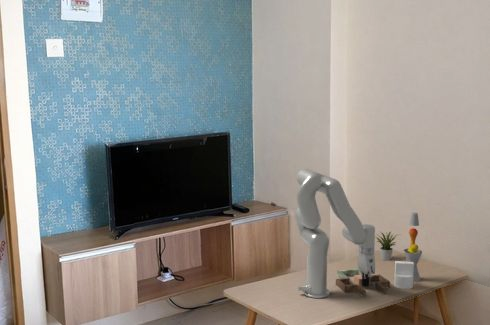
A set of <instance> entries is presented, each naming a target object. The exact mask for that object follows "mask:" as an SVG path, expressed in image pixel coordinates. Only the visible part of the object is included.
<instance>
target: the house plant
mask: <svg viewBox="0 0 490 325" xmlns="http://www.w3.org/2000/svg"><path fill="white" fill-rule="evenodd" d="M379 232H380V235H382V236H380V235H379V234H377V233H376V235H377V236H376V235H375V238H376V239H377V241H376V242H378V243H379V244H380V248H379V251H380V252H379V253H380V258H381V260H382V261H391V260H392V259H391V258H392V255H393V251H394V250H393V246H396V244H397V242H396V241H395V242H393V241H394V240H395V239H396V237H398V236H401V235H402V234H396V235H395V233H393V234H391V233H392V231H389V232H388V233H387V231H386V233H385V234H386V235H385V234H384V232H382V231H379Z"/></svg>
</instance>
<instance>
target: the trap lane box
mask: <svg viewBox="0 0 490 325" xmlns="http://www.w3.org/2000/svg"><path fill="white" fill-rule="evenodd" d="M354 275H362V274H361V271H360V270H359V268H354V269H353V268H351V269H343V270H337V278H336V279H335V286H337V287H338V288H339V289H341V291H343V292H344V293H351V292H356V293H358V294H359V295H360V296H362V297H363V298H365V297H367V290H366V289H364V288H363V287H361V286H359V285H358V284H355V283H353V284H351V278H350V277H354ZM370 286H372V287H374V288H375V289H376V290H378V291H379V292H381V293H382V294H383V295H388V288H390V287H391V281H390V280H389V279H387V278H386V277H384V276H383V275H381V274H380V273H379V274H372V277H370Z"/></svg>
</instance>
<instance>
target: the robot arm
mask: <svg viewBox="0 0 490 325" xmlns="http://www.w3.org/2000/svg"><path fill="white" fill-rule="evenodd" d="M296 181H297V183H298V184H299V185H300V186H299V188H298V190H297V195H296V201H297V206H298V207H297V208H296V210H295V213H294V219H295V223H296V226H297V228H298V229H297V230H298V233H299V236H300V238H301V240H302V242H304V244H306V245H307V246H308V251H307V255H306V282H305V283H304V285H303V286H297V287H296V290H297V291H301V292H302V293H303V294H304V296H306V297H309V298H313V299H323V298H326V297H329V296H330V294H331V291H330V290H329V289H328V286H327V284H328V283H327V280H328V251H329V246H330V239H329V236H328V234H327V233H326V232H325V231H323V230H322V229H320V228H319V227H320V225H321V222H322V218H321V214H320V211H319V207H318V205H317V200H316V195H317V192H319V193H322V194H324V195H325V197H326V198H327V201H328V203H329V205H330V207H331V210H332V213H333V214H334V215H335V216H336V217H337V218H338V219H339V221H341V222H342V223H343V225H344V227H342V230H341V233H342V237H343V238H344V239H346V240H348V242H350V243H353V245H358V260H357V267H358V268H357V269H359V270H360V271H361V274H362V286H363V287H370V286H369V279H370V277H372V275H376V258H375V243H376V239H375V238H376V237H375V236H376V228H375V226H374V225H372V224H366V223H365V224H363V223H362V221H361V220H360V217H358V215H357V214H356V211H355V210H354V208H352V206H351V204H350V202H349V200H348V197H347V195H346V193H345V191H344V189H343V186H342V184H341V182H340V181H339V180H337V179H336V178H333V177H331V176H328V175H325V174H322V173H319V172H317V171H314V170H312V169H308V168H303V169H300V170H299V171H298V172H297V175H296Z"/></svg>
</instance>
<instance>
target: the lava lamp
mask: <svg viewBox="0 0 490 325" xmlns="http://www.w3.org/2000/svg"><path fill="white" fill-rule="evenodd" d="M419 222H420V221H419V214H418V212H411V214H410V218H409V222H408V223H409V224H408V225H409V226H412V227H413V228H410V229H409V230H408V234H409V237H410V244H409V247H408V248H404V249H403V252H404V253H403V254H404V255H405V256H404V257H405V259H406V262H413V263H414V270H413V283H418V282H420V281H421V276H420V273H419V270H418V263H419V261H420V258H421V256H422V253H423V251H422V250H421V249H419V246H418V244H416V239H417V237H418V235H419V234H418V232H419V231H418V229H416V228H414V227H419V226H420V223H419Z"/></svg>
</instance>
